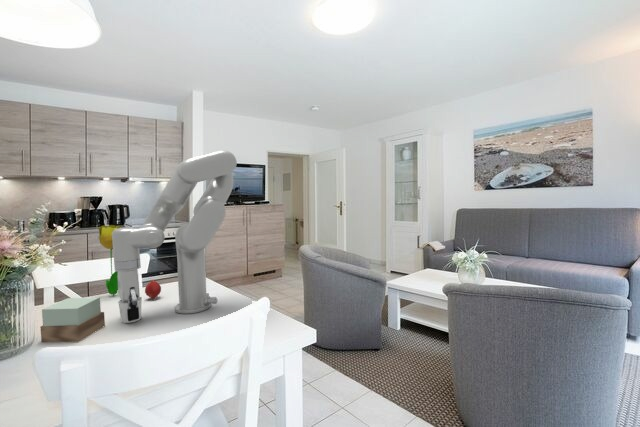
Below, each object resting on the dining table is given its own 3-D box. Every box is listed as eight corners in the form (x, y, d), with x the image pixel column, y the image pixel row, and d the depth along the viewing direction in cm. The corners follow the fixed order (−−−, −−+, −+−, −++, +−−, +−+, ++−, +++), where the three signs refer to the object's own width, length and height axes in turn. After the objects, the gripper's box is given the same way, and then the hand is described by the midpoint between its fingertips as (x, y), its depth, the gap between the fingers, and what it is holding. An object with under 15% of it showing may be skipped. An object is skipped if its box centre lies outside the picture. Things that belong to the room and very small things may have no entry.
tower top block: (100, 312, 102) (99, 297, 102) (78, 325, 92) (77, 308, 92) (68, 313, 102) (67, 298, 102) (43, 326, 92) (41, 309, 92)
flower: (96, 298, 131) (92, 226, 129) (113, 292, 139) (109, 224, 137) (114, 299, 129) (109, 226, 127) (130, 293, 137) (126, 224, 135)
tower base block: (105, 326, 103) (104, 311, 103) (79, 342, 92) (78, 326, 92) (71, 327, 103) (70, 312, 103) (41, 343, 92) (40, 326, 92)
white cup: (115, 321, 106) (113, 301, 106) (135, 314, 112) (134, 295, 112) (127, 325, 103) (126, 304, 102) (147, 317, 109) (146, 297, 109)
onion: (143, 298, 130) (142, 279, 129) (159, 295, 133) (158, 276, 133) (147, 302, 125) (146, 282, 125) (163, 298, 129) (162, 279, 129)
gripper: (110, 262, 110) (114, 312, 112) (119, 271, 97) (123, 328, 99) (134, 259, 115) (138, 307, 116) (146, 266, 102) (150, 321, 103)
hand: (131, 316), depth 108 cm, fingers closed on white cup, 6 cm apart
